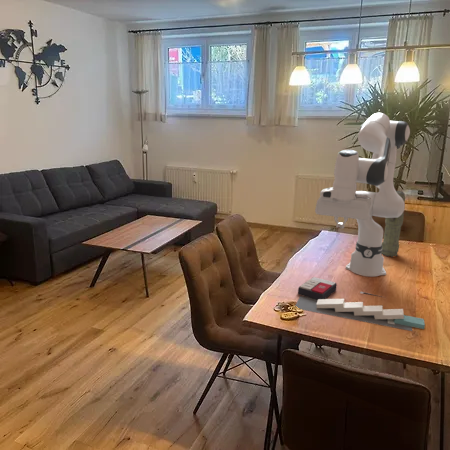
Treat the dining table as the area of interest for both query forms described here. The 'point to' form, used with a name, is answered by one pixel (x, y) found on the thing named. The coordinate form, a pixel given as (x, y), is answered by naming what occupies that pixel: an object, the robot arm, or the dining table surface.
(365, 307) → the domino
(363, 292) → the smartphone
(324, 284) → the calculator
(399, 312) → the domino
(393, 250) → the thermos
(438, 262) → the dining table surface
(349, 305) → the domino
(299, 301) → the domino mat
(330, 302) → the domino
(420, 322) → the domino
